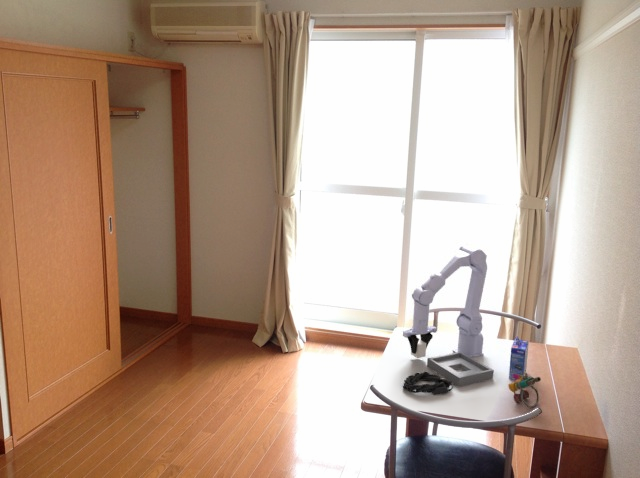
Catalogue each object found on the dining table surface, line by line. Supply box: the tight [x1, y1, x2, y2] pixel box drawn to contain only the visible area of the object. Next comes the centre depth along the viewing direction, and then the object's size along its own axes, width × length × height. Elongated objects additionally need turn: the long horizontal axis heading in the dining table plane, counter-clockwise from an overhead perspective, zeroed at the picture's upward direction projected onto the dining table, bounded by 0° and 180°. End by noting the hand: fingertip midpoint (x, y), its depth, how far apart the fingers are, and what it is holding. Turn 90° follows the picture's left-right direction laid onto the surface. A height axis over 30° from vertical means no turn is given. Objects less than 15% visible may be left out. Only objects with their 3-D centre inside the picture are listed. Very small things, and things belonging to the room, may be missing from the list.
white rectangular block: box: [410, 339, 427, 359], centre depth 221 cm, size 4×4×6 cm
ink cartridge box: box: [508, 336, 530, 381], centre depth 210 cm, size 10×6×14 cm, turn 155°
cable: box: [402, 371, 454, 396], centre depth 199 cm, size 17×14×4 cm
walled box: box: [426, 352, 495, 388], centre depth 211 cm, size 16×18×4 cm
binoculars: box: [507, 375, 542, 408], centre depth 189 cm, size 9×9×10 cm
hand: (418, 351), depth 221 cm, fingers closed on white rectangular block, 4 cm apart
